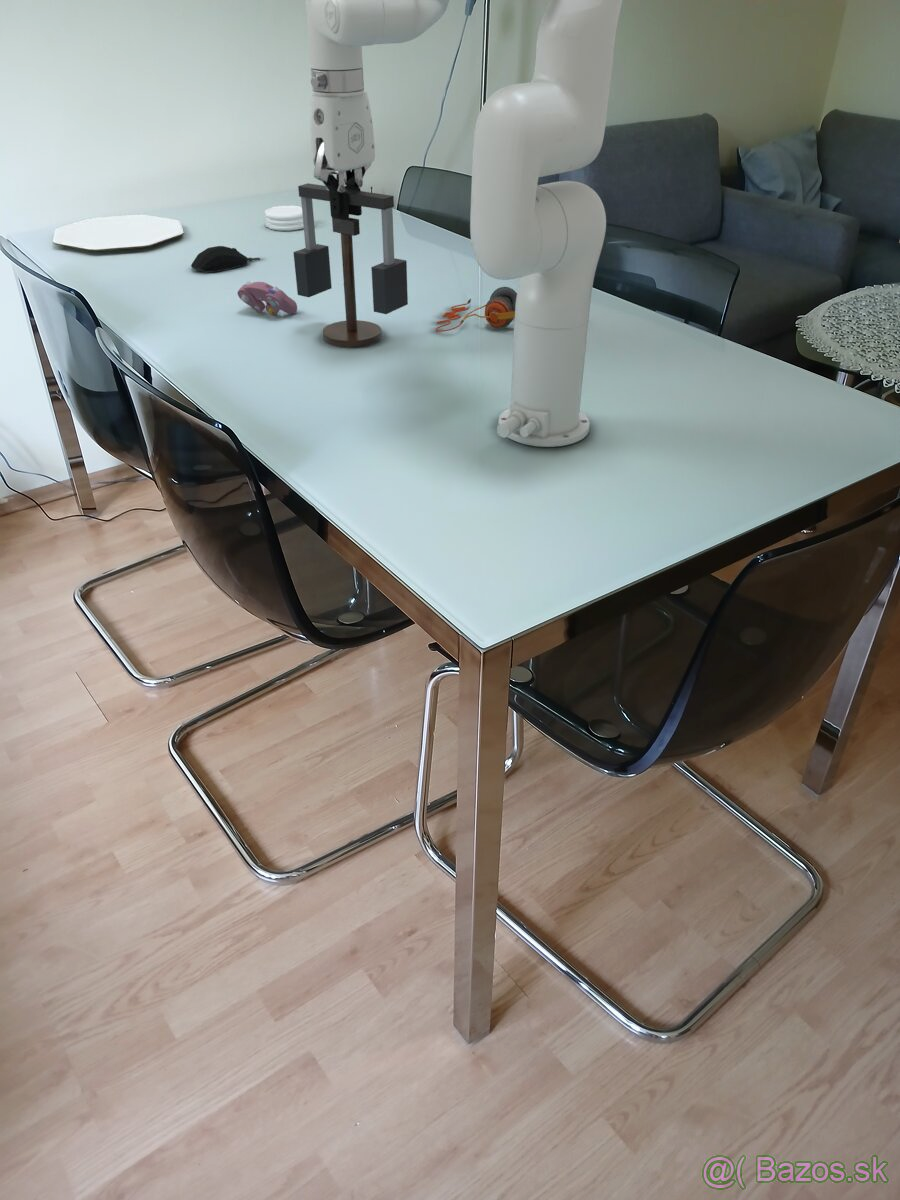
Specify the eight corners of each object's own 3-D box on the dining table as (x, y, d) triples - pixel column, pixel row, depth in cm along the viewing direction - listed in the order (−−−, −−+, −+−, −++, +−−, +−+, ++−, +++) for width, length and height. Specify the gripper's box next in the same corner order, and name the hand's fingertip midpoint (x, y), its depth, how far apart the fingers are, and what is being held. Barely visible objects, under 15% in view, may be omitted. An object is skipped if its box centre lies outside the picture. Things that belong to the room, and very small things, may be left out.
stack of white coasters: (294, 218, 219) (293, 202, 217) (317, 226, 213) (315, 210, 211) (257, 225, 214) (256, 209, 212) (280, 233, 208) (278, 217, 206)
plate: (57, 226, 212) (55, 219, 211) (178, 218, 218) (177, 211, 218) (52, 259, 191) (51, 252, 190) (187, 249, 197) (186, 242, 196)
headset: (386, 314, 145) (381, 201, 135) (297, 295, 153) (286, 187, 143) (407, 304, 149) (404, 194, 139) (320, 286, 157) (311, 180, 147)
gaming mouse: (266, 263, 189) (264, 243, 187) (200, 275, 182) (196, 255, 180) (252, 256, 193) (250, 236, 191) (187, 268, 186) (183, 247, 184)
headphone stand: (357, 352, 149) (350, 229, 138) (310, 339, 154) (300, 220, 142) (393, 334, 156) (389, 216, 145) (347, 323, 160) (340, 207, 149)
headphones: (433, 348, 158) (547, 330, 152) (426, 318, 155) (541, 299, 149) (452, 316, 171) (557, 299, 165) (446, 288, 168) (553, 270, 162)
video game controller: (245, 318, 167) (229, 288, 161) (257, 300, 168) (242, 270, 162) (289, 327, 163) (274, 297, 157) (301, 309, 165) (287, 278, 159)
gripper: (322, 90, 125) (332, 230, 136) (391, 78, 136) (396, 209, 147) (280, 86, 129) (294, 224, 139) (351, 75, 140) (359, 203, 150)
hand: (346, 215), depth 143 cm, fingers closed on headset, 2 cm apart
